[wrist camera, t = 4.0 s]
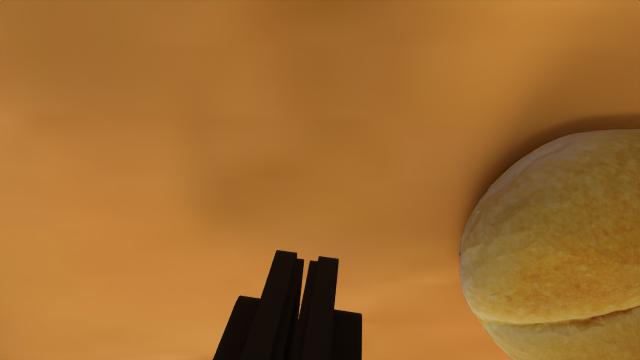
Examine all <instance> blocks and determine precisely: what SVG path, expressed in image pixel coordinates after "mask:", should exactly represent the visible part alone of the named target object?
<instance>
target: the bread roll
mask: <svg viewBox="0 0 640 360" xmlns="http://www.w3.org/2000/svg"><path fill="white" fill-rule="evenodd" d="M459 255H460V268H459V273H460V276H461V285H462V290H463V293H464V296H465V298H466V300H467V303H468V305H469V306H470V308H471V310H472V311H473V313H474V314H475V315H476V316H477V318H478V319H479V320H480V322H481V323H482V325H483V327H484V328H485V330H486V331H487V332H488V334H489V335H490V336H491V337H492V338H493V340H494V341H495V342H496V344H497V345H498V346H499V347H500V348H501V349H503V350H504V351H505V352H506V353H507V354H508V355H509V356H510V357H511V358H513V359H514V360H640V129H612V130H596V131H589V132H581V133H573V134H569V135H566V136H563V137H560V138H558V139H556V140H554V141H551V142H549V143H547V144H544V145H542V146H541V147H539V148H537V149H535V150H534V151H532V152H531V153H529V154H528V155H526V156H525V157H523V158H522V159H520V160H518V161H517V162H516V163H515V164H513V165H512V166H511V167H510V168H509V169H507V170H506V171H505V172H504V173H503V174H502V175H501V176H500V177H499V178H498V179H497V180H496V181H495V182H494V183H493V184H492V185H491V186H490V188H489V189H488V191H487V192H486V193H485V194H484V196H483V197H482V198H481V199H480V200H479V202H478V203H477V205H476V207H475V208H474V210H473V212H472V214H471V216H470V218H469V219H468V221H467V223H466V226H465V228H464V231H463V235H462V239H461V244H460V253H459Z"/></svg>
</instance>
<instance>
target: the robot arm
mask: <svg viewBox="0 0 640 360" xmlns="http://www.w3.org/2000/svg"><path fill="white" fill-rule="evenodd" d="M338 263H339V259H336V258H329V257H322V256H319V258H318V261H311V260H310V264H309V269H308V274H307V279H306V284H305V289H304V294H303V299H302V304H301V309H300V314H299V307H300V297H301V287H302V277H303V267H304V259H297V253H294V252H287V251H280V250H277V251H276V253H275V256H274V259H273V262H272V265H271V268H270V271H269V275H268V278H267V281H266V284H265V287H264V290H263V293H262V296H261V299H260V298H253V297H246V296H239V297H238V299H237V301H236V303H235V306H234V308H233V311H232V313H231V316H230V318H229V321H228V323H227V326H226V328H225V331H224V333H223V336H222V338H221V341H220V343H219V345H218V348H217V350H216V353H215V355H214V358H213V360H362V314H361V313H354V312H347V311H341V310H334V304H335V294H336V284H337V273H338ZM298 317H299V319H298Z"/></svg>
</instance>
